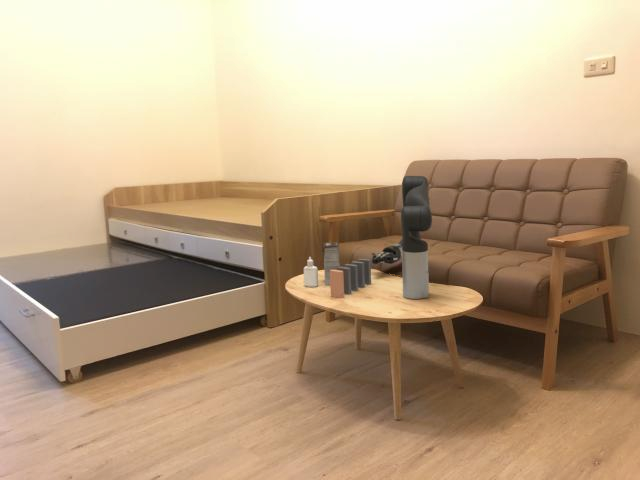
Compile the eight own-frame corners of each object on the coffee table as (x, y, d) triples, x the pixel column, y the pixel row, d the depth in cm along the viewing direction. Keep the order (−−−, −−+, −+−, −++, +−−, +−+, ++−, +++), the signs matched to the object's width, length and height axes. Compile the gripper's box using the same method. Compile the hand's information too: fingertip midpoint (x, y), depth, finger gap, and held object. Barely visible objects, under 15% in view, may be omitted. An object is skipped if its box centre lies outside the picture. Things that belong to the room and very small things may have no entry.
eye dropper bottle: (312, 288, 212) (310, 259, 210) (302, 285, 216) (301, 257, 214) (320, 285, 215) (318, 257, 213) (310, 283, 219) (309, 255, 217)
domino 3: (347, 288, 210) (346, 263, 208) (358, 290, 207) (357, 265, 205) (345, 289, 208) (344, 264, 206) (356, 291, 205) (355, 266, 204)
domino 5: (360, 282, 218) (359, 258, 216) (371, 283, 215) (370, 259, 213) (358, 283, 216) (357, 259, 214) (369, 284, 213) (368, 260, 212)
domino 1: (333, 295, 202) (332, 269, 200) (344, 296, 199) (343, 271, 197) (330, 296, 200) (329, 270, 199) (341, 298, 198) (340, 271, 196)
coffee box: (324, 279, 225) (323, 242, 222) (340, 278, 225) (338, 241, 222) (324, 285, 216) (323, 246, 213) (340, 284, 216) (339, 245, 213)
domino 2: (340, 291, 206) (339, 266, 204) (351, 293, 203) (350, 268, 201) (338, 292, 204) (337, 267, 203) (349, 294, 202) (348, 268, 200)
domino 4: (354, 285, 214) (353, 261, 212) (364, 286, 211) (364, 262, 209) (352, 286, 212) (351, 262, 210) (362, 287, 209) (362, 263, 208)
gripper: (380, 243, 237) (360, 251, 223) (407, 246, 229) (387, 254, 216) (380, 260, 238) (360, 268, 225) (407, 263, 231) (388, 272, 217)
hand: (374, 261), depth 220 cm, fingers closed
